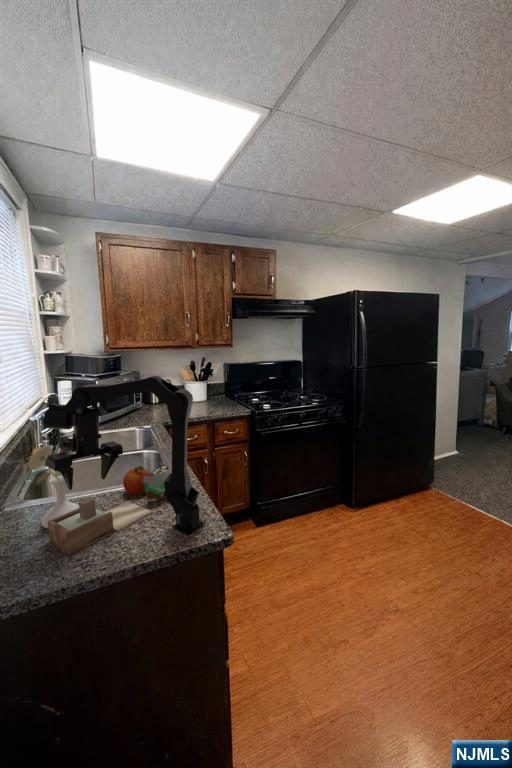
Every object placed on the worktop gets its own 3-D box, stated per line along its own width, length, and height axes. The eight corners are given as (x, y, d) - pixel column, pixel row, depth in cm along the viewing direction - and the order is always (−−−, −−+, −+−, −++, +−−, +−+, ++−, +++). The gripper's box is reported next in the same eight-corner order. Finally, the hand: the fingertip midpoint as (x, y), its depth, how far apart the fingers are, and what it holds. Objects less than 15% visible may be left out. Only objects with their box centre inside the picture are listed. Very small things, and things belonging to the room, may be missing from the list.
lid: (108, 517, 90) (106, 499, 89) (71, 535, 82) (69, 515, 81) (92, 509, 95) (91, 492, 94) (56, 525, 86) (54, 507, 86)
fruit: (140, 484, 121) (138, 459, 120) (157, 489, 116) (155, 463, 115) (118, 495, 113) (115, 468, 111) (135, 501, 108) (133, 473, 107)
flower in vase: (72, 508, 104) (64, 434, 101) (93, 517, 98) (85, 439, 95) (27, 529, 93) (17, 446, 90) (48, 540, 87) (37, 452, 84)
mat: (152, 512, 100) (152, 511, 100) (117, 531, 90) (117, 530, 90) (127, 502, 107) (127, 501, 107) (93, 518, 97) (92, 517, 97)
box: (113, 531, 90) (112, 512, 89) (69, 555, 80) (67, 534, 80) (93, 520, 96) (91, 502, 96) (49, 541, 86) (47, 521, 86)
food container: (162, 507, 103) (160, 477, 102) (145, 505, 104) (142, 476, 103) (178, 489, 115) (177, 463, 114) (163, 488, 116) (161, 462, 115)
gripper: (104, 419, 100) (103, 467, 102) (36, 430, 84) (37, 486, 86) (124, 426, 93) (123, 477, 95) (55, 439, 78) (56, 499, 80)
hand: (87, 484), depth 89 cm, fingers open, 9 cm apart
